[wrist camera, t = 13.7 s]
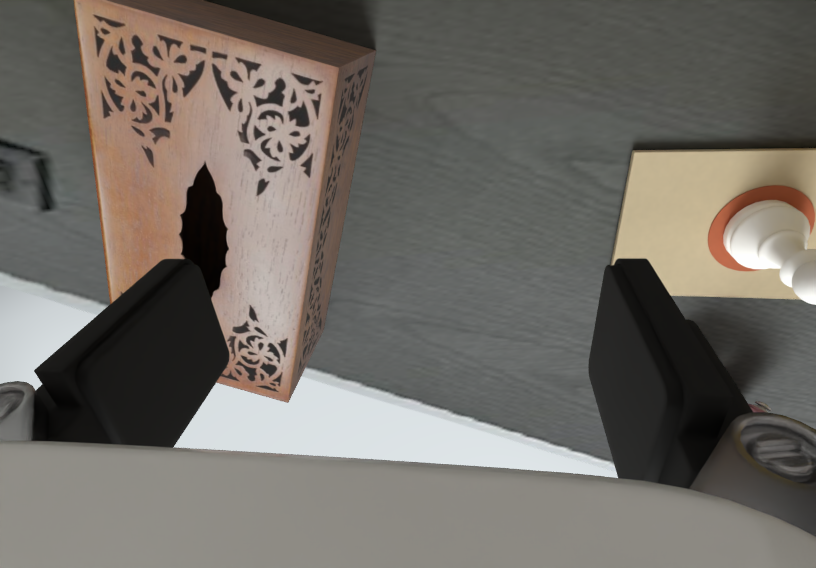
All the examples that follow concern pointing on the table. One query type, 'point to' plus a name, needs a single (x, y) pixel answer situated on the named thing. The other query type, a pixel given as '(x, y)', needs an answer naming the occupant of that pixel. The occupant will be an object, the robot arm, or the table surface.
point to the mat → (709, 214)
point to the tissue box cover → (225, 165)
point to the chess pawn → (774, 244)
